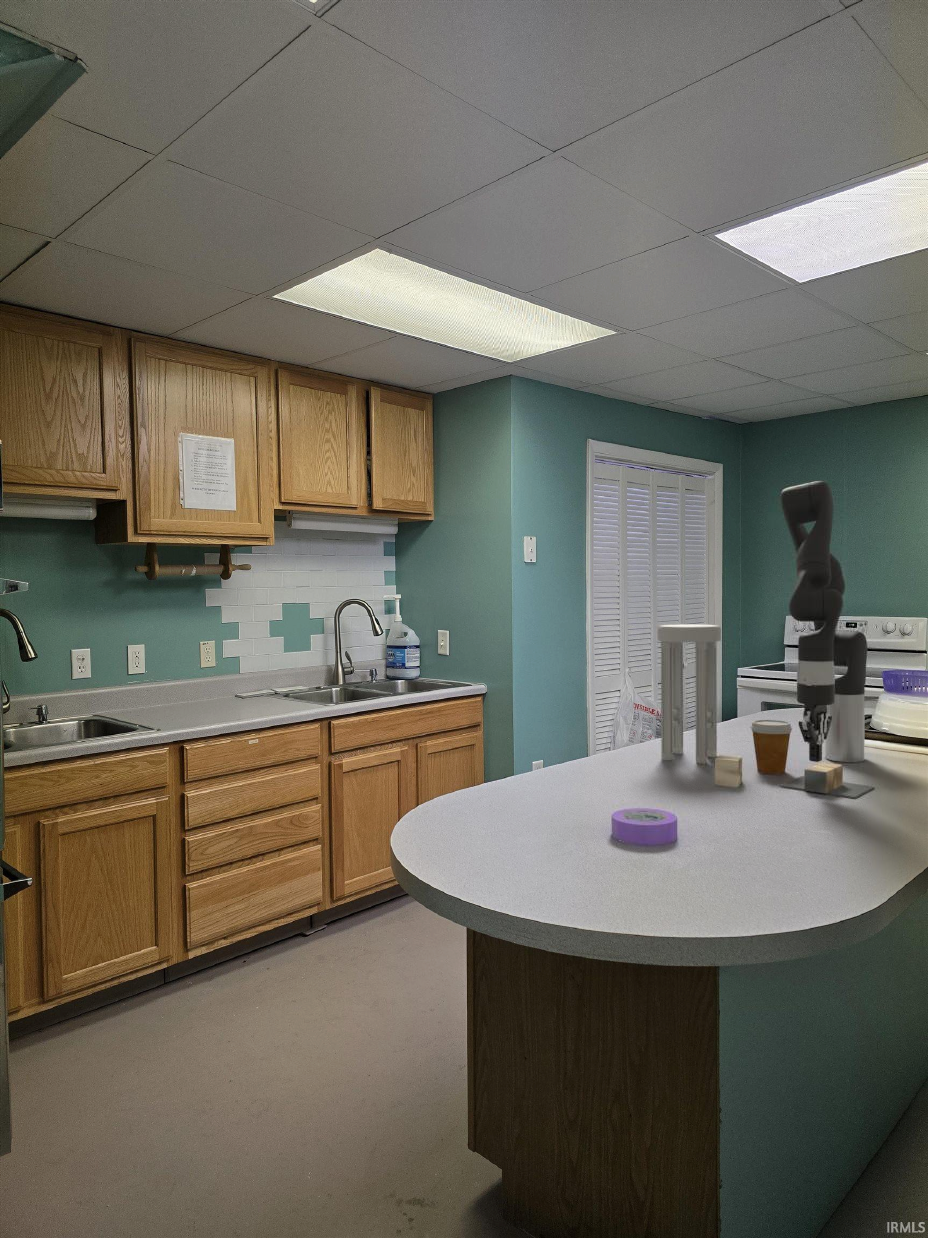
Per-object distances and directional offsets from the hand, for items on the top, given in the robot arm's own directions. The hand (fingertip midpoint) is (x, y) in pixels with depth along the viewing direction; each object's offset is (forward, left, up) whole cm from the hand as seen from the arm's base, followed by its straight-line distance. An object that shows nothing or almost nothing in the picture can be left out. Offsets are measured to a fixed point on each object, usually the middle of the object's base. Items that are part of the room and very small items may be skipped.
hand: (815, 761), depth 177 cm
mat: (-6, 0, -7) cm, 10 cm away
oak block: (0, 0, -4) cm, 4 cm away
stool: (-16, -39, -7) cm, 43 cm away
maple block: (+4, -18, -7) cm, 20 cm away
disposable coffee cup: (-14, -16, -7) cm, 22 cm away
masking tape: (+51, -11, -8) cm, 53 cm away
